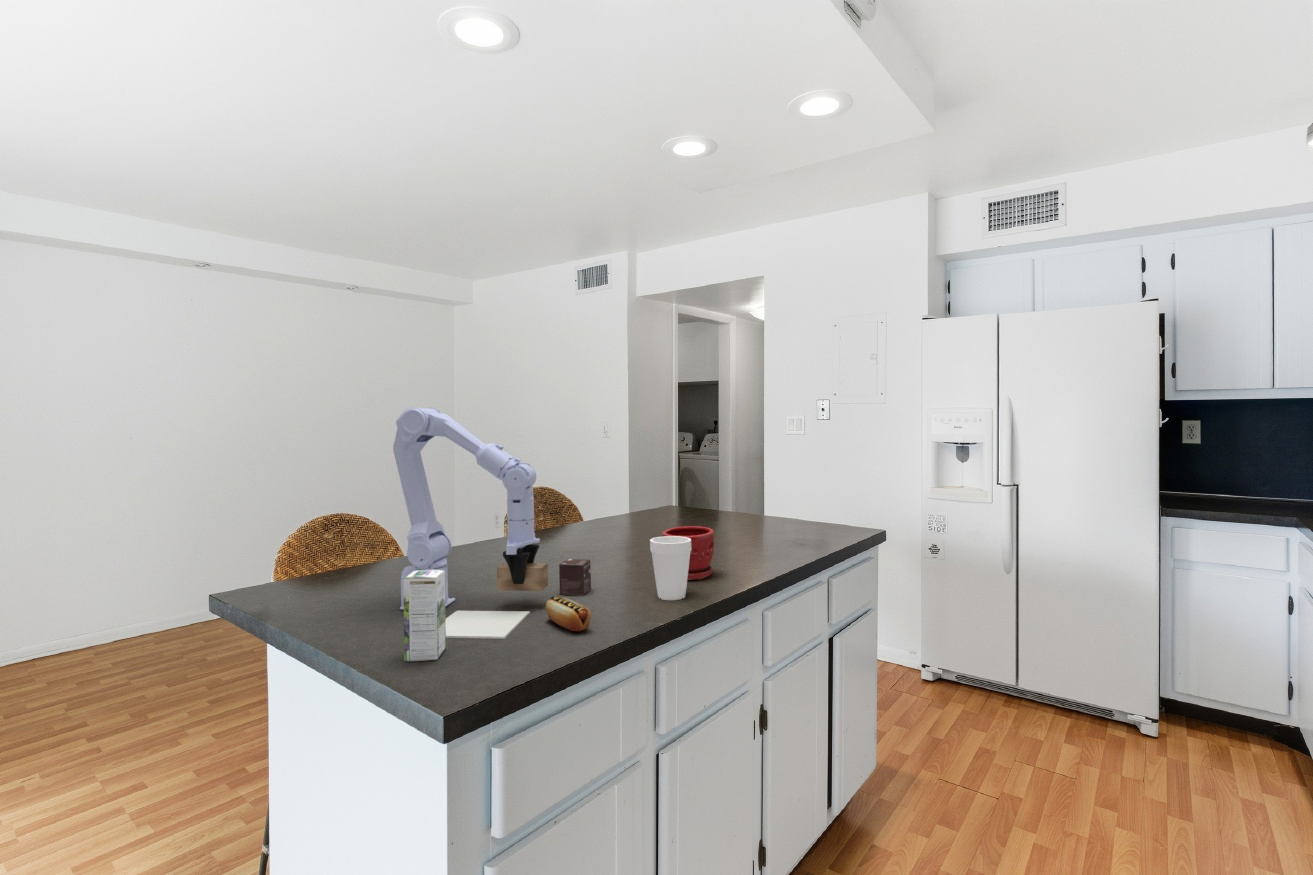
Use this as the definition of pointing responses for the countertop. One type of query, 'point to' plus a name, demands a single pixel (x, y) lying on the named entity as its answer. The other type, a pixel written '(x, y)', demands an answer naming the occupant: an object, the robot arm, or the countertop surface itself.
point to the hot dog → (568, 613)
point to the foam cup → (671, 565)
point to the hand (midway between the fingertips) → (522, 580)
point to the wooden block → (533, 579)
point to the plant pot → (697, 549)
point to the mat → (483, 624)
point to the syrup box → (424, 615)
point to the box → (575, 577)
